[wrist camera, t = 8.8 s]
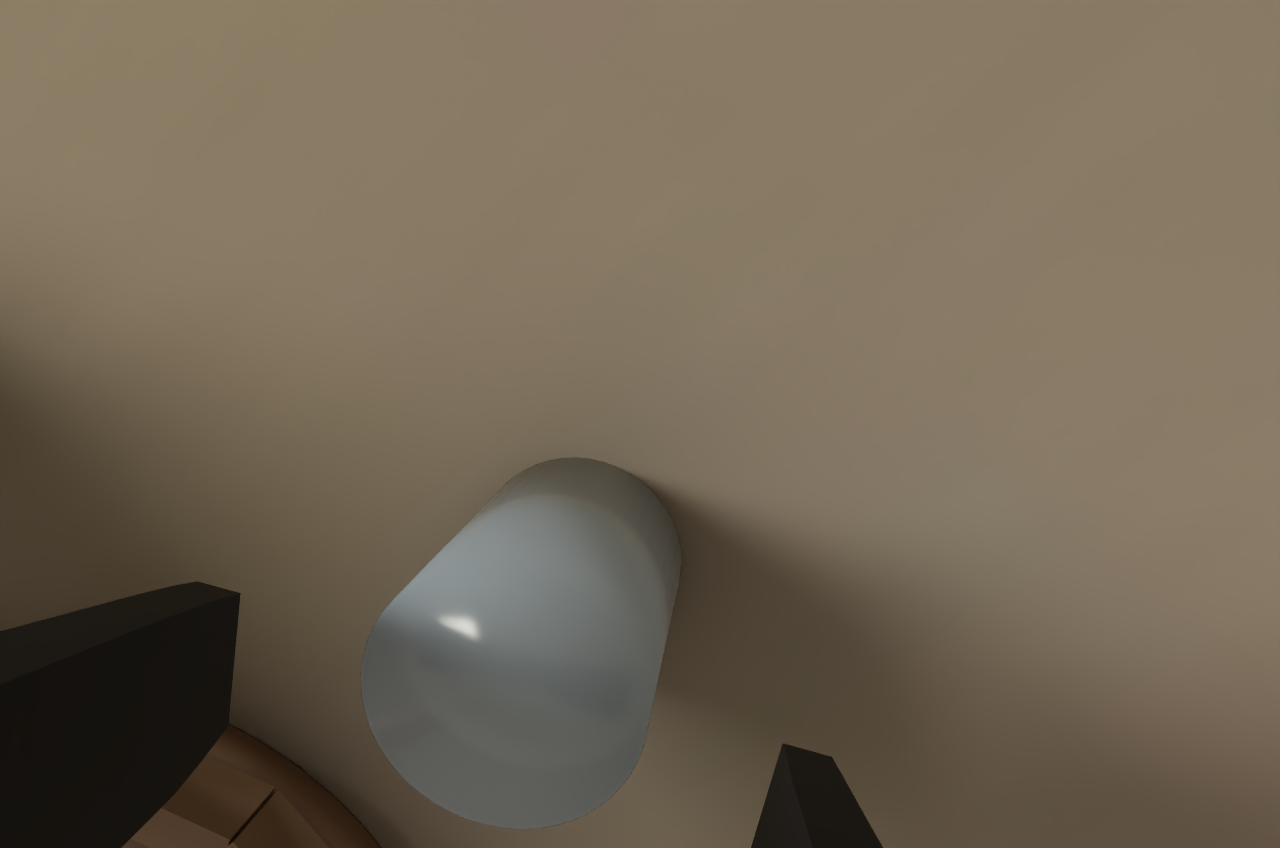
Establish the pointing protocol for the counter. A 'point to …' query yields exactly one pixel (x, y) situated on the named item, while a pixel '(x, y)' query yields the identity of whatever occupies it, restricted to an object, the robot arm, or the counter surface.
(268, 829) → the walnut groove tray
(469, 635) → the slate bead
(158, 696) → the robot arm
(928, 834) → the counter surface
